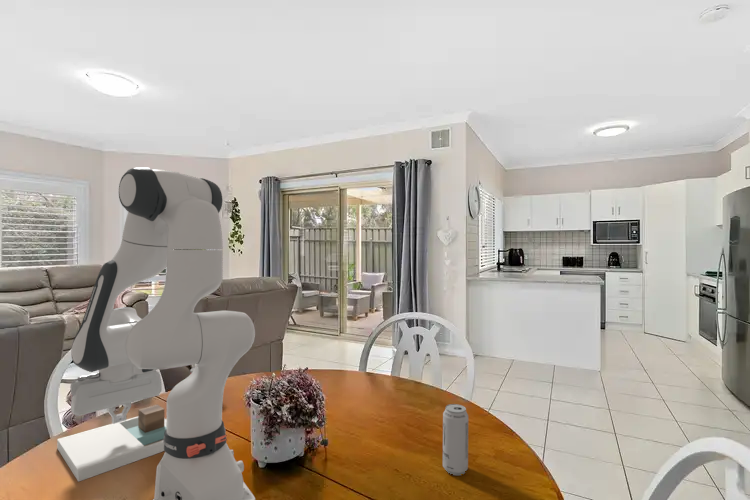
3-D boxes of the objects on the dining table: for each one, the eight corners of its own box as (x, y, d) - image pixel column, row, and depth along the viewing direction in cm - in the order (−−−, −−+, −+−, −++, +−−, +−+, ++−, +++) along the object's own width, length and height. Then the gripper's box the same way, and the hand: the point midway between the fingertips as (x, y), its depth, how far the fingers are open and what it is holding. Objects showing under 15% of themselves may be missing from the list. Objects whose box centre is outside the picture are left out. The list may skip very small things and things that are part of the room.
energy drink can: (441, 462, 99) (442, 402, 99) (466, 463, 98) (466, 403, 98) (443, 475, 93) (443, 412, 93) (469, 477, 92) (470, 413, 92)
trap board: (186, 443, 108) (186, 433, 108) (78, 481, 90) (78, 470, 90) (155, 419, 122) (155, 411, 122) (57, 448, 104) (57, 439, 104)
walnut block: (164, 426, 112) (164, 409, 112) (145, 432, 108) (145, 414, 108) (157, 421, 115) (157, 404, 115) (138, 427, 111) (138, 409, 111)
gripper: (73, 380, 95) (73, 439, 94) (163, 362, 110) (164, 412, 110) (67, 376, 99) (67, 432, 98) (154, 359, 114) (155, 407, 114)
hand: (119, 421), depth 104 cm, fingers closed
